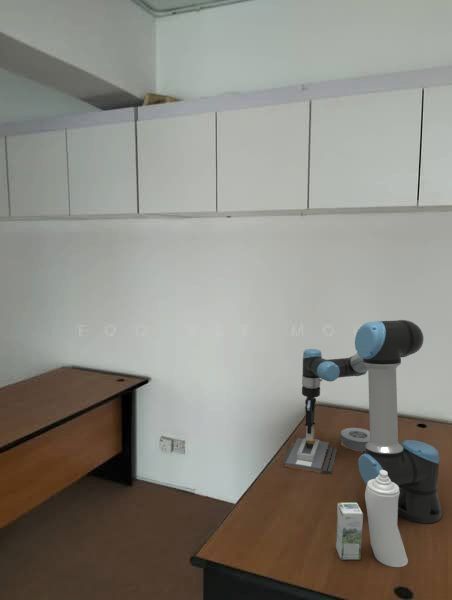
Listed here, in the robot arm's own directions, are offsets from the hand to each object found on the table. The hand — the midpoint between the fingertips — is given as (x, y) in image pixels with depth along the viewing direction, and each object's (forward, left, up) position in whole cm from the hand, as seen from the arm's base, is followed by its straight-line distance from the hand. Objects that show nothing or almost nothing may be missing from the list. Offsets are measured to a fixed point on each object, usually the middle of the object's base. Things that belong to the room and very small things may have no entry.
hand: (309, 439), depth 196 cm
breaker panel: (-2, -1, -7) cm, 7 cm away
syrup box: (-61, -21, -7) cm, 65 cm away
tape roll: (+18, -19, -7) cm, 27 cm away
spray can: (-58, -31, -7) cm, 66 cm away
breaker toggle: (+3, 0, -4) cm, 5 cm away
